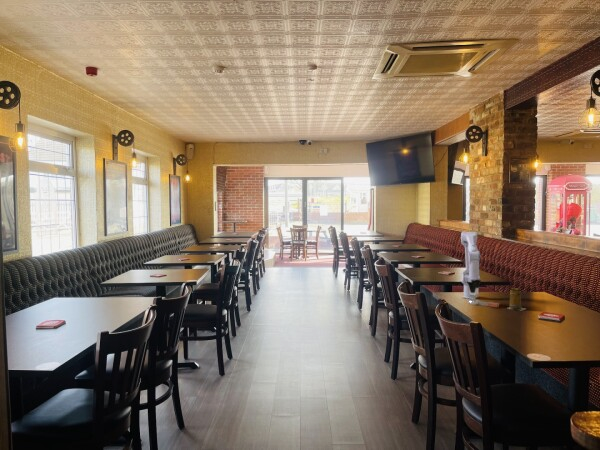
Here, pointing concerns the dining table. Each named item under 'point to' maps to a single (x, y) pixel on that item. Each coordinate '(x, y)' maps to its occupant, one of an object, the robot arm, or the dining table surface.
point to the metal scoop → (482, 303)
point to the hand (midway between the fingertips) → (473, 292)
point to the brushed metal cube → (475, 291)
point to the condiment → (515, 299)
